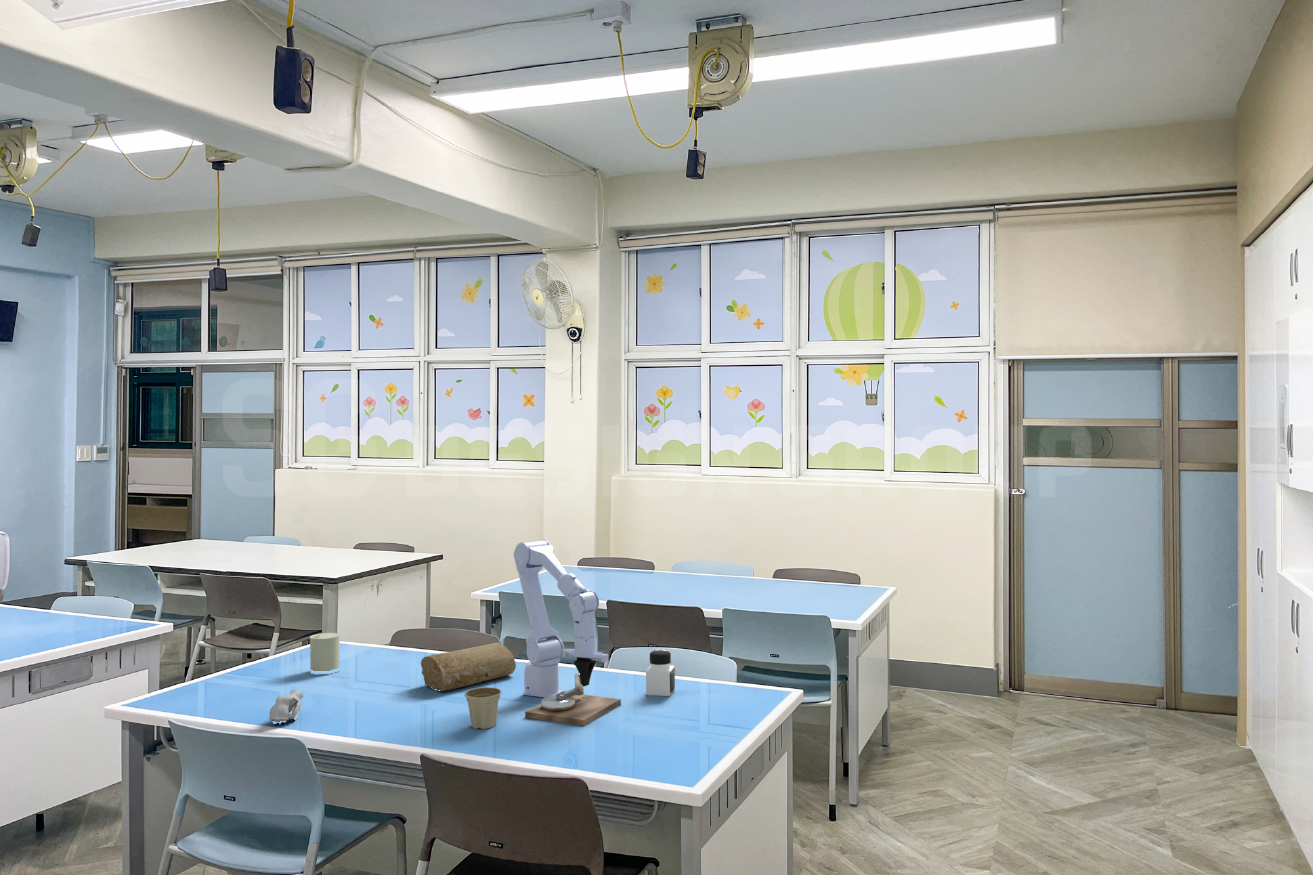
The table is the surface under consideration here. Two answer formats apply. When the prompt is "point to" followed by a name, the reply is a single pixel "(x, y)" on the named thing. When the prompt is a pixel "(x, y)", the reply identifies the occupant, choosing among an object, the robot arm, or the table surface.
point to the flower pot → (483, 706)
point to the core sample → (467, 666)
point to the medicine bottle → (660, 674)
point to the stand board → (577, 710)
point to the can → (324, 651)
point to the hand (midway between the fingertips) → (585, 685)
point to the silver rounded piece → (563, 698)
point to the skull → (286, 706)
